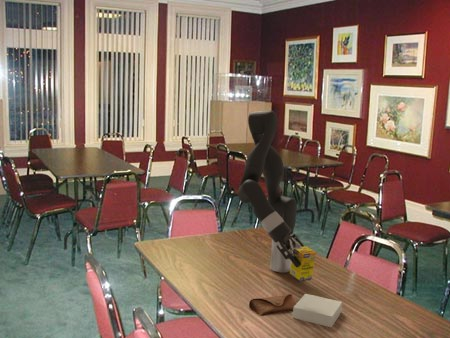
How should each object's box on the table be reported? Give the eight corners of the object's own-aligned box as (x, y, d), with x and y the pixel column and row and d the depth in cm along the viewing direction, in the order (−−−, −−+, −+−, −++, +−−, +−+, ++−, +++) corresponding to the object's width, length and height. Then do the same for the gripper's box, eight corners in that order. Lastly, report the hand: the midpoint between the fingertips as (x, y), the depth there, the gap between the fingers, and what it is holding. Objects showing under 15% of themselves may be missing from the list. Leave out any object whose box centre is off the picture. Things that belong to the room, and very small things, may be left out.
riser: (304, 303, 193) (305, 293, 193) (341, 312, 187) (342, 301, 186) (292, 317, 181) (293, 307, 180) (331, 327, 175) (332, 316, 174)
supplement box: (299, 282, 181) (303, 254, 178) (289, 275, 186) (292, 247, 183) (312, 279, 184) (316, 252, 181) (301, 272, 189) (305, 245, 186)
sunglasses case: (258, 316, 181) (255, 297, 183) (251, 318, 187) (247, 300, 189) (302, 309, 188) (298, 291, 190) (293, 312, 194) (290, 294, 196)
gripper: (275, 225, 179) (304, 262, 176) (289, 216, 192) (317, 251, 188) (260, 237, 182) (288, 274, 179) (275, 228, 195) (302, 262, 192)
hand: (303, 262), depth 184 cm, fingers closed on supplement box, 8 cm apart
